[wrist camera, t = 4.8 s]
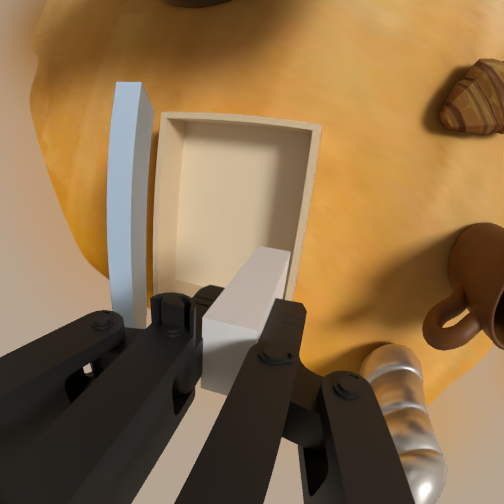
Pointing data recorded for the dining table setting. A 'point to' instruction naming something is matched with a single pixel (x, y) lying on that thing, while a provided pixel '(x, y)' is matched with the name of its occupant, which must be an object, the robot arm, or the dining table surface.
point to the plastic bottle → (407, 418)
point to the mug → (471, 290)
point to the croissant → (477, 100)
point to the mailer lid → (129, 201)
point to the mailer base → (229, 196)
